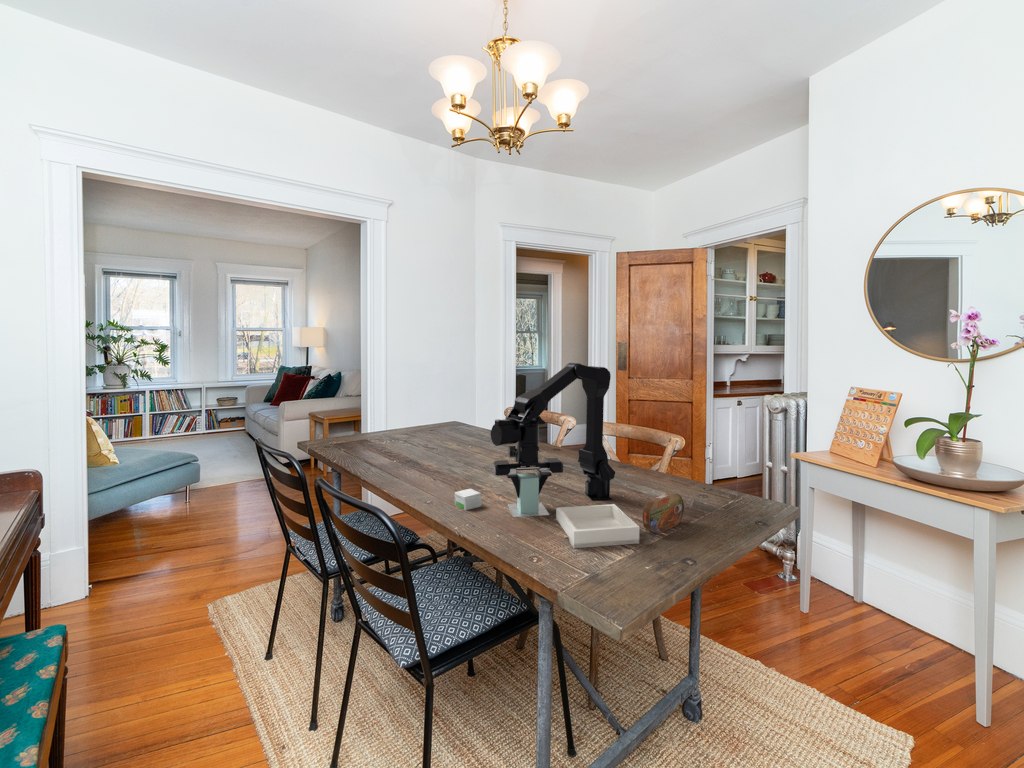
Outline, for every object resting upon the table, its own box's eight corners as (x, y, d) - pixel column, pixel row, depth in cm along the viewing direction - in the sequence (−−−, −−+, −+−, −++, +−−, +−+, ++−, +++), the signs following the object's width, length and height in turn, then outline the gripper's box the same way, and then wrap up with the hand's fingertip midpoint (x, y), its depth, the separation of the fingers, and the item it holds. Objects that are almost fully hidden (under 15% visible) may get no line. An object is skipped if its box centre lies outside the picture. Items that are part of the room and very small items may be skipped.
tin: (650, 537, 119) (651, 504, 119) (639, 533, 122) (640, 500, 121) (684, 522, 129) (685, 491, 128) (674, 519, 131) (675, 488, 130)
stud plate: (541, 505, 141) (541, 493, 141) (549, 518, 132) (549, 505, 131) (507, 507, 140) (507, 495, 139) (513, 520, 130) (513, 507, 130)
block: (534, 505, 138) (534, 472, 138) (538, 512, 134) (538, 478, 133) (517, 506, 138) (517, 473, 137) (520, 513, 133) (520, 478, 132)
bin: (613, 518, 132) (614, 504, 131) (639, 543, 116) (639, 527, 115) (556, 522, 129) (556, 507, 128) (573, 548, 113) (574, 531, 113)
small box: (454, 508, 139) (454, 491, 139) (471, 504, 143) (471, 487, 142) (464, 514, 135) (464, 497, 134) (482, 509, 138) (482, 492, 138)
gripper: (553, 434, 143) (553, 486, 145) (490, 436, 140) (490, 489, 142) (564, 442, 132) (563, 498, 134) (495, 445, 129) (495, 502, 131)
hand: (527, 497), depth 135 cm, fingers closed on block, 5 cm apart
